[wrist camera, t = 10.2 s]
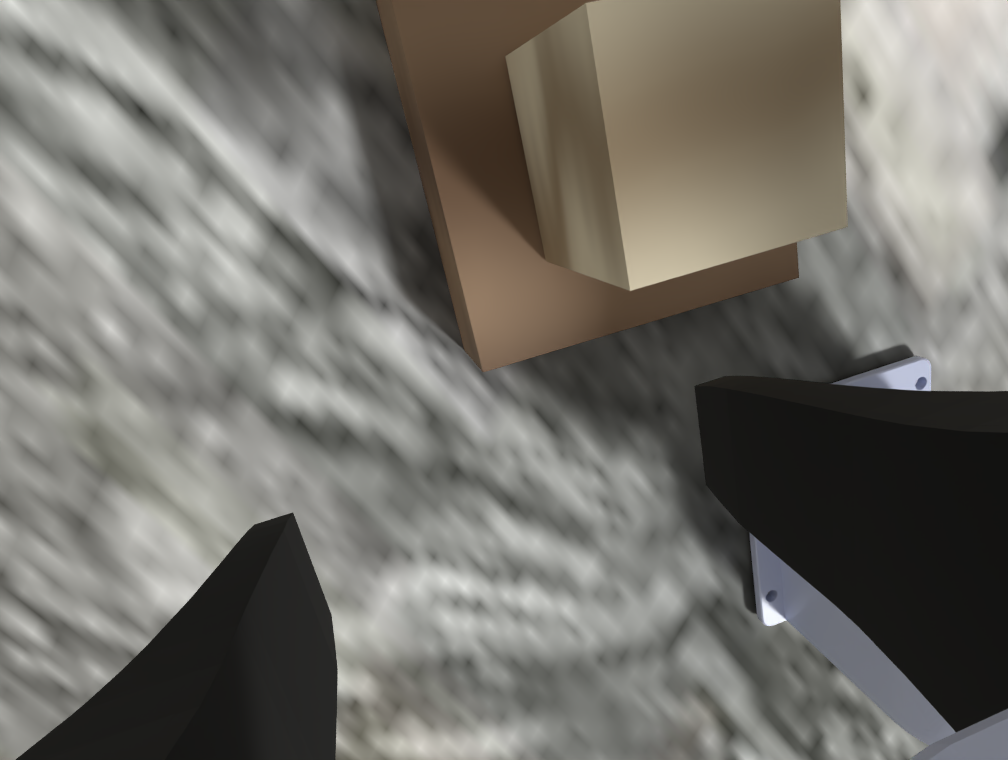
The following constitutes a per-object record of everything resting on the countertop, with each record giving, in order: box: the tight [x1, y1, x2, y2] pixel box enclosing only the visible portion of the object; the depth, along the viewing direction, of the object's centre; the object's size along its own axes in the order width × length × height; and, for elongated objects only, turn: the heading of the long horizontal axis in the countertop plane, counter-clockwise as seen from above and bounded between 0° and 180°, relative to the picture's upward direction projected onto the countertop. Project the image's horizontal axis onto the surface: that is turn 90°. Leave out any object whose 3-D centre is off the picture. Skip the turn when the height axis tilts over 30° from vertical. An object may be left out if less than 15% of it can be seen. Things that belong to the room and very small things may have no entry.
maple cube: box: [505, 0, 848, 291], centre depth 14 cm, size 5×5×5 cm
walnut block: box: [376, 0, 799, 372], centre depth 18 cm, size 10×10×3 cm
